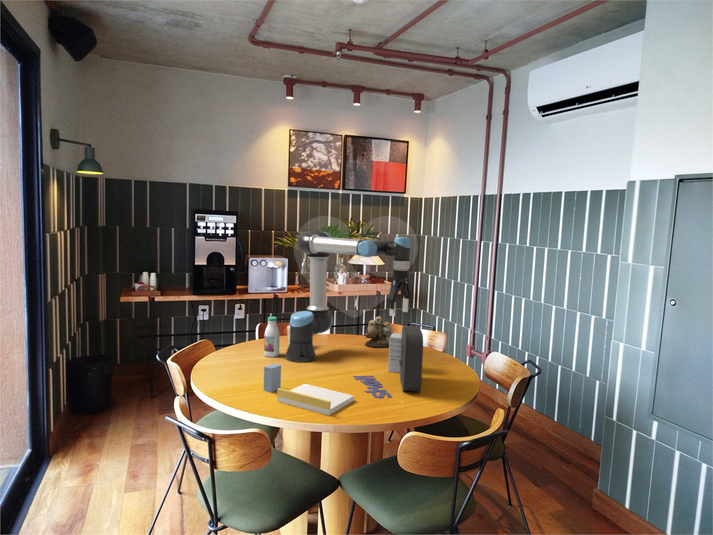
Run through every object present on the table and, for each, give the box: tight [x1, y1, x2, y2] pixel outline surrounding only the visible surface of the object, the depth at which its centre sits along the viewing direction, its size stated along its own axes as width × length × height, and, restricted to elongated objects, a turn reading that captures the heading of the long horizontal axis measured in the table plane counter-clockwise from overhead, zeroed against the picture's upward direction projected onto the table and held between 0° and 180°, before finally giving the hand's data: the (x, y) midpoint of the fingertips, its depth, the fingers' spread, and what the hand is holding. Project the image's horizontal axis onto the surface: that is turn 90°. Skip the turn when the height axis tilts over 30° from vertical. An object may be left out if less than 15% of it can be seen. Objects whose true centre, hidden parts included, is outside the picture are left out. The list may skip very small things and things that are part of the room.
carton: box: [263, 363, 282, 393], centre depth 200 cm, size 6×4×10 cm
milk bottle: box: [263, 316, 281, 358], centre depth 250 cm, size 8×8×20 cm
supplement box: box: [387, 332, 402, 373], centre depth 234 cm, size 10×9×17 cm
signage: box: [352, 375, 393, 399], centre depth 209 cm, size 28×1×10 cm
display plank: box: [276, 383, 355, 416], centre depth 190 cm, size 24×18×5 cm
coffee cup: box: [286, 324, 290, 348], centre depth 267 cm, size 9×9×12 cm
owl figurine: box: [364, 316, 394, 349], centre depth 278 cm, size 18×12×17 cm, turn 107°
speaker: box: [399, 325, 424, 393], centre depth 211 cm, size 25×9×25 cm, turn 178°
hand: (398, 313), depth 231 cm, fingers open, 13 cm apart
